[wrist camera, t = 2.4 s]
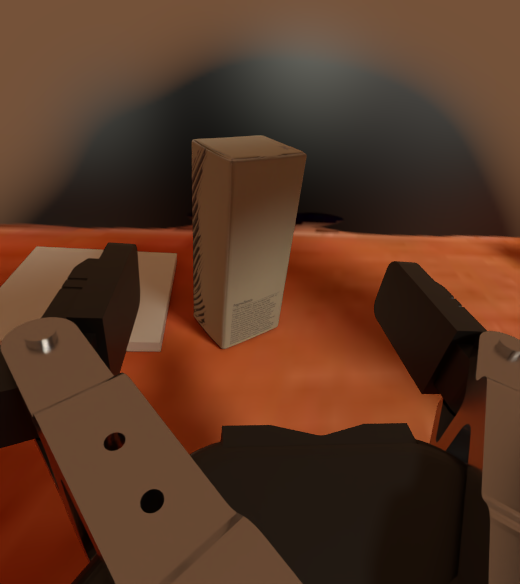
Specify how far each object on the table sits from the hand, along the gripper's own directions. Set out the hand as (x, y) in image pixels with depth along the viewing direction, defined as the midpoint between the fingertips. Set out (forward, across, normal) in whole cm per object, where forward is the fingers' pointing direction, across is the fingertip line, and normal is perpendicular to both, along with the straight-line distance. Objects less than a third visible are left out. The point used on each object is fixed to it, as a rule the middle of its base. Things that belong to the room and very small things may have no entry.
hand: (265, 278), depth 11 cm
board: (+14, +11, +11) cm, 21 cm away
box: (+11, 0, +11) cm, 16 cm away
